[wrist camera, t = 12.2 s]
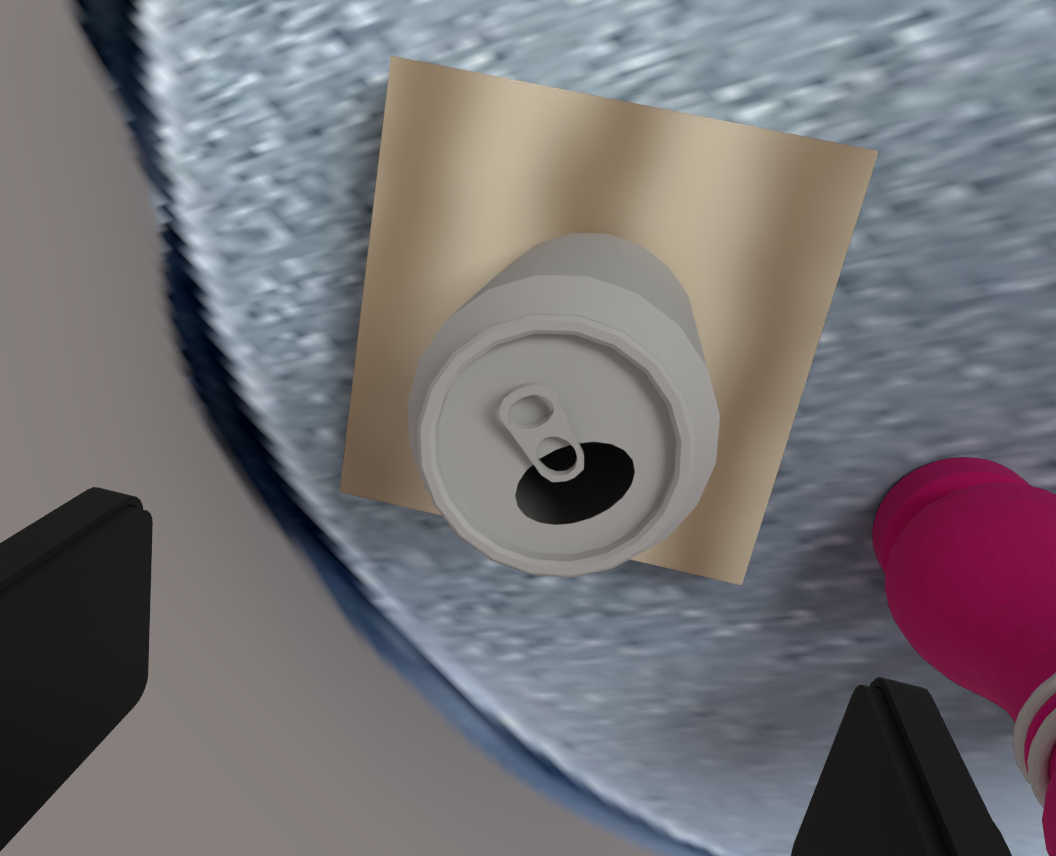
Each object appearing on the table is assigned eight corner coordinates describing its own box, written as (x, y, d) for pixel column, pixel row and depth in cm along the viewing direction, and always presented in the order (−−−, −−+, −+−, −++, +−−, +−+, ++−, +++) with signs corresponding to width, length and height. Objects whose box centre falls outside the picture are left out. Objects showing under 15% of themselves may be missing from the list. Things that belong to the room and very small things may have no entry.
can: (541, 467, 31) (481, 649, 20) (447, 287, 30) (325, 375, 18) (730, 387, 29) (780, 539, 18) (641, 190, 28) (637, 221, 16)
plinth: (856, 150, 29) (878, 151, 26) (734, 549, 35) (741, 585, 32) (415, 63, 30) (391, 55, 27) (363, 464, 36) (339, 491, 33)
